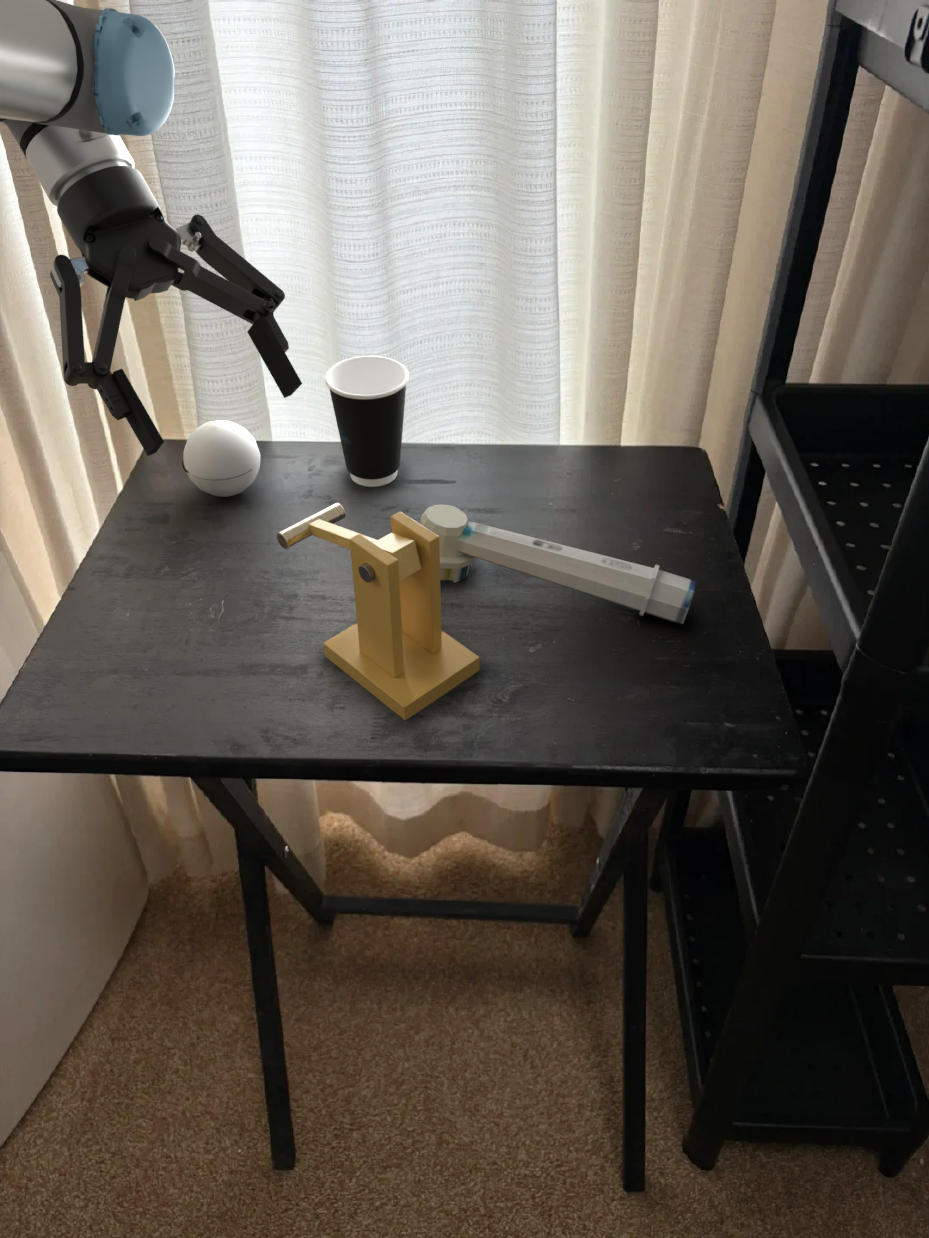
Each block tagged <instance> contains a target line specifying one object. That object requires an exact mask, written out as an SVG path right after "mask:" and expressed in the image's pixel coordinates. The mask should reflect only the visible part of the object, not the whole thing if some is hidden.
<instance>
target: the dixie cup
mask: <svg viewBox="0 0 929 1238" xmlns="http://www.w3.org/2000/svg"><path fill="white" fill-rule="evenodd" d="M409 381H410V373H409V370H408V368H407V367H406V366H405V365H404V364H403V363H401V362H399V361H397V360H395V359H393V358H389V357H385V356H379V355H362V356H361V355H359V356H354V357H349V358H346V359H344V360H341V361H339V362H336V363H335V364H334V365H332V366H331V367H330V368H329V369H328V370H327V371H326V373H325V376H324V383H325V385H326V387H327V388H328V390H329V394H330V398H331V403H332V407H333V412H334V418H335V421H336V426H337V429H338V434H339V439H340V445H341V448H342V449H341V450H342V455H343V458H344V463H345V467H346V470H347V471H348V473H349V475H350V479H351V480H352V481H353V482H354V483H355V484H357V485H359V486H363V487H367V488H368V487H369V488H377V487H381V486H385V485H386V486H387V485H388V484H390V483H392V482H393V481H394V480H396V478H397V476H398V470H399V468H400V467H401V457H402V445H403V444H402V443H403V432H404V431H403V430H404V418H405V417H404V416H405V406H406V405H405V402H406V390H407V384H408V383H409Z"/></svg>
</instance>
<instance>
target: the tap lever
mask: <svg viewBox="0 0 929 1238" xmlns="http://www.w3.org/2000/svg"><path fill="white" fill-rule="evenodd" d="M345 519H346V510H345V509H344V506H342V504H341V503H339V502H335V503H333V504H331V505H329V506H328V507H326V508H323V509H321V510H319V511H317V512H316V513H314V514H312V515H310V516H308V517H306V518H304V519H302V520H300V521H297V522H296V523H294V524H292V525H290V526H288V527H286V528H285V529H282V530H280V531H278V532H277V533H276V540H277V542H278V544H279V545H280V547H281V548H282V549H284V550H287V549H289V548H291V547H292V546H295V545H297V544H299V543H300V542H302V541H304V540H306V539H308V538H310V537H312V536H314V537H316V538H318V539H322V540H323V541H326V542H329V543H331V544H334V545H337V546H340V547H342V548H345V549H347V550H350V542H349V539H350V538H352V537H354V536H356V535H357V534H361V535H362V536H364V537H365V538H367V539H368V540H370V541H371V542H372V543H374V544H375V545H377V546H378V547H380V548H381V549H383V550H384V551H386V552H387V553H389V554H390V555H392V556H393V557H394V558H396V559H397V560H398V568H399V581H401V580H403V579H405V578H406V577H408V576H410V575H411V574H413V573H415V572H417V571H418V570H420V569H421V565H420V561H419V556H418V552H417V548H416V543H415V541H414V540H412V539H409V538H406V537H403V536H400V535H397V534H394V533H392V532H390V533H388V534H386V535H384V536H383V537H381V538H379V539H376V538H373V537H370V536H368V535H365V534H363V533H359V532H356V531H354V530H352V529H348V528H345V527H343V526H340V525H337V523H339V522H340V521H342V520H345Z"/></svg>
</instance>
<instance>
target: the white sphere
mask: <svg viewBox="0 0 929 1238" xmlns="http://www.w3.org/2000/svg"><path fill="white" fill-rule="evenodd" d="M182 455H183V456H182V461H181V467H182V469H183V471H184V472H185V473H186V474H187V476H188V479H189V480H190V481H191V482H192V484H194V485H195V486H196V487H197V488H198V489H199V490H200V491H202V492H205V493H207V494H208V495H209V494H210V495H211V496H214V497H223V498H224V497H225V498H226V497H232V496H236V495H238V494H240V493H241V494H242V492H244V491H245V490H246V489H248V488H249V487H250V486H252V484H253V483H254V481H255V480H256V479H257V476H258V474H259V471H260V467H261V452H260V449H259V446H258V443H257V440H256V439H255V437H254V436H253V435H252V434H251V433H250V431H248V430H247V428H245V427H244V426H242V425H240V424H238V423H236V422H234V421H232V420H227V419H226V420H225V419H220V420H219V419H217V420H210V421H208V422H205V423H202V424H201V425H199V426H198V427H197V428H196V429H195V430H194V431H193V432H192V433H191V434H190V435H189V436H188V438H187V440H186V443H185V446H184V449H183V453H182Z"/></svg>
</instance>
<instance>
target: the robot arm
mask: <svg viewBox="0 0 929 1238" xmlns="http://www.w3.org/2000/svg"><path fill="white" fill-rule="evenodd" d="M175 76H176V71H175V63H174V60H173V55H172V52H171V49H170V46H169V44H168V42H167V39H166V38H165V36H164V34H163V32H162V31H161V30H160V29H159V28H158V26H157V25H155V23H154V22H152V21H151V20H150V19H148V18H147V17H145V16H142V15H138V14H134V13H127V12H120V11H118V10H117V9H115V8H113V7H106V8H104V9H98V8H97V9H95V8H88V7H84V6H78V5H74V4H72V3H71V4H70V3H68V2H64V1H60V0H0V123H2V124H4V125H5V126H6V127H7V129H8V130H9V131H10V133H11V135H12V137H13V138H14V139H15V141H16V143H17V145H18V146H19V148H20V150H21V151H22V154H23V155H24V157H25V158H26V160H27V162H28V164H29V166H30V167H31V169H32V171H33V173H34V175H35V176H36V179H37V181H38V182H39V184H40V186H41V187H42V190H43V191H44V193H45V195H46V196H47V198H48V200H49V202H50V203H51V204H52V206H55V207H57V208H56V212H57V215H58V217H59V218H60V220H61V222H62V224H63V226H64V227H65V229H66V231H67V233H68V235H69V237H70V238H71V239H72V241H73V244H74V245H75V247H76V248H77V249H78V250H79V252H80V253H81V257H74V258H70V257H68V256H67V255H65V254H58V255H56V257H55V258H54V261H53V263H52V267H51V270H50V272H49V276H50V279H51V281H52V283H53V286H54V288H55V291H56V293H57V295H58V299H59V318H60V337H61V353H62V354H61V355H62V372H63V381H64V383H65V384H66V385H68V386H70V387H76V386H78V385H87V386H88V387H89V388H90V389H93V390H96V391H97V392H98V394H99V395H100V397H101V399H102V401H103V403H104V404H105V407H106V408H107V409H108V411H109V413H110V415H111V416H112V417H113V418H114V419H115V420H116V421H120V420H123V419H126V421H127V423H128V424H129V426H130V428H131V429H132V431H133V433H134V435H135V436H136V438H137V440H138V442H139V444H140V445H141V447H142V449H143V451H144V452H145V454H146V455H147V457H149V456H152V455H155V454H156V453H157V452H158V450H160V448H161V447H162V446H163V444H164V443H165V441H164V439H163V437H162V435H161V434H160V432H159V429H158V428H157V427H156V425H155V423H154V421H153V419H152V418H151V416H150V414H149V412H148V411H147V409H146V408H145V406H144V404H143V402H142V401H141V399H140V397H139V395H138V394H137V392H136V390H135V388H134V386H133V385H132V383H131V381H130V380H129V378H128V376H127V374H126V373H125V371H124V369H123V368H119V369H117V370H114V371H113V372H112V371H111V367H112V364H113V363H112V362H113V358H114V353H115V348H116V344H117V340H118V334H119V329H120V325H121V321H122V315H123V311H124V306H125V303H126V302H125V301H126V299H132V300H134V302H137V301H141V300H143V299H145V298H146V297H147V296H149V295H151V294H161V293H164V292H167V291H169V290H170V289H169V288H170V287H171V286H172V287H174V288H176V289H178V290H180V291H183V292H186V291H188V292H190V293H192V294H194V295H196V296H198V297H200V298H201V299H204V300H206V301H207V302H209V303H211V304H213V305H215V306H217V307H219V308H221V309H223V310H225V311H227V312H228V313H230V314H232V315H234V316H235V317H238V318H239V319H241V320H243V321H245V322H247V323H249V324H250V325H251V326H250V327H249V329H248V330H247V332H246V333H247V334H248V336H249V338H250V340H251V341H252V344H253V345H254V347H255V349H256V350H257V352H258V355H259V356H260V357H261V360H262V361H263V363H264V365H265V366H266V368H267V370H268V371H269V374H270V376H271V377H272V378H273V381H274V383H275V384H276V387H278V389H279V391H280V393H281V395H282V397H283V398H284V399H286V398H288V397H290V396H292V395H293V394H294V393H295V392H296V391H297V390H298V389H299V388H300V387H301V386H302V385H303V382H302V381H301V378H300V377H299V374H298V373H297V371H296V370H295V367H293V364H292V362H291V361H290V359H289V357H288V355H287V352H288V350H289V348H290V345H289V341H288V339H287V338H286V336H285V334H284V332H283V330H282V328H281V327H280V325H279V323H278V322H277V320H276V318H275V316H274V313H275V312H276V310H277V309H278V308H279V307H280V305H281V304H282V303H283V302H284V300H285V298H286V294H285V292H284V291H283V289H281V287H279V286H278V285H277V284H275V283H274V282H273V280H270V278H268V277H267V276H266V275H264V274H263V272H262V271H260V270H259V269H257V268H256V267H255V266H254V265H252V263H250V262H249V261H248V260H246V259H245V258H244V257H243V256H242V255H241V254H239V253H238V252H237V251H236V250H234V248H232V246H229V244H228V243H226V242H225V241H224V240H222V239H221V238H220V237H219V236H218V235H217V234H216V232H215V231H214V230H213V228H212V226H211V225H210V224H209V222H208V221H207V220H206V218H205V217H204V216H203V215H201V214H198V213H197V214H194V215H193V216H192V217H191V219H190V221H189V222H188V223H186V224H183V225H182V226H179V227H177V228H174V227H173V226H172V225H171V224H169V223H168V221H167V220H166V219H165V217H164V214H163V213H162V209H161V207H160V204H159V203H158V201H157V199H156V197H155V195H154V194H153V192H152V190H151V188H150V187H149V185H148V183H147V181H146V180H145V177H144V176H143V175H142V172H141V171H140V170H138V169H136V168H135V161H134V159H133V157H132V156H131V154H130V152H129V150H128V149H127V146H126V144H125V143H124V141H123V139H122V137H121V136H136V137H145V136H146V137H147V136H149V135H152V134H154V133H156V132H157V131H159V129H161V128H162V127H163V125H164V124H165V123H166V121H167V120H168V118H169V116H170V114H171V111H172V109H173V105H174V100H175V92H176V91H175ZM182 245H183V246H185V247H186V248H187V250H188V251H189V252H195V253H196V254H197V256H198V257H199V258H200V259H201V260H203V261H204V262H205V263H206V264H208V266H210V267H211V268H212V269H213V270H214V271H215V272H217V273H218V274H219V275H218V274H216V273H215V272H213V271H211V270H209V269H208V268H205V267H204V266H202V265H201V264H200V261H198V259H196V258H195V257H192V256H190V255H188V254H186V253H185V252H183V251H181V248H182ZM179 270H181V271H183V272H180V271H179ZM86 274H87V275H88V277H90V278H92V279H93V280H94V281H97V282H99V283H100V284H101V285H103V286H105V287H107V288H106V291H105V292H106V293H105V297H104V300H103V306H102V314H101V318H100V323H99V327H98V332H97V337H96V340H95V341H96V342H95V346H94V349H93V350H94V351H93V355H92V360H91V361H86V358H85V357H86V356H85V342H84V341H85V340H84V323H83V322H84V321H83V306H82V305H83V303H82V290H81V288H82V286H83V284H84V281H85V275H86Z"/></svg>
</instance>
